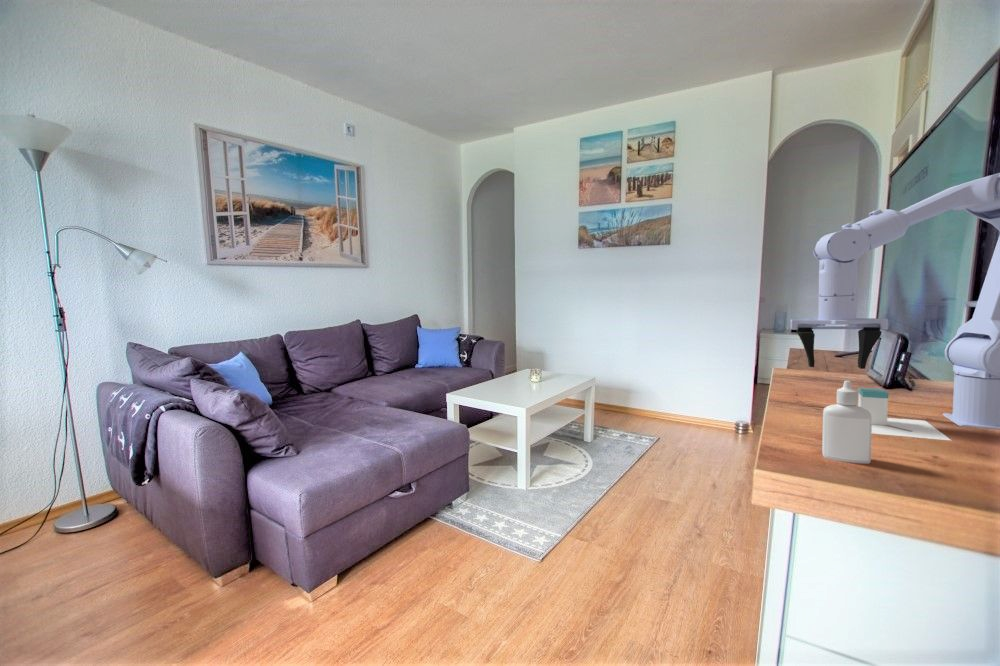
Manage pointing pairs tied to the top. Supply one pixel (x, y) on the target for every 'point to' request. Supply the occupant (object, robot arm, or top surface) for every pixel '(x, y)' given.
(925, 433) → the paper
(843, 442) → the eye dropper bottle
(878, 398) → the white and teal box
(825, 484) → the top surface
